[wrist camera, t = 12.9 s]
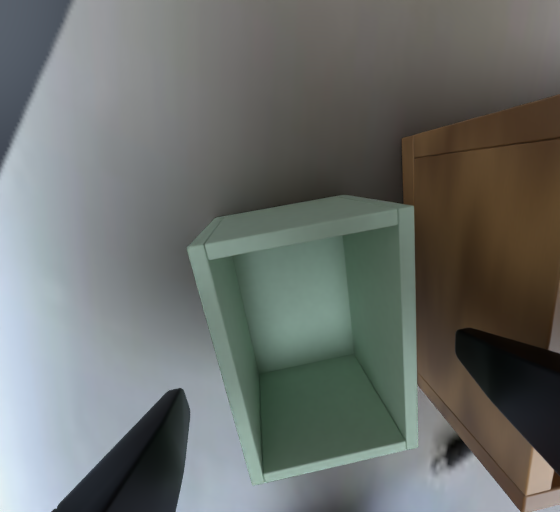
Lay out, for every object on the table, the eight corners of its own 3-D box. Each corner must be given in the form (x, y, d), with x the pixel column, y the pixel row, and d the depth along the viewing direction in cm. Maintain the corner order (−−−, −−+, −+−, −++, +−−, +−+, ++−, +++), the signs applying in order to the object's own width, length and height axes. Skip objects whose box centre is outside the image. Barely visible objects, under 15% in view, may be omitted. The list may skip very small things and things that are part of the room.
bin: (359, 352, 16) (418, 448, 10) (252, 375, 16) (252, 487, 10) (344, 194, 13) (414, 205, 8) (214, 217, 13) (185, 247, 7)
